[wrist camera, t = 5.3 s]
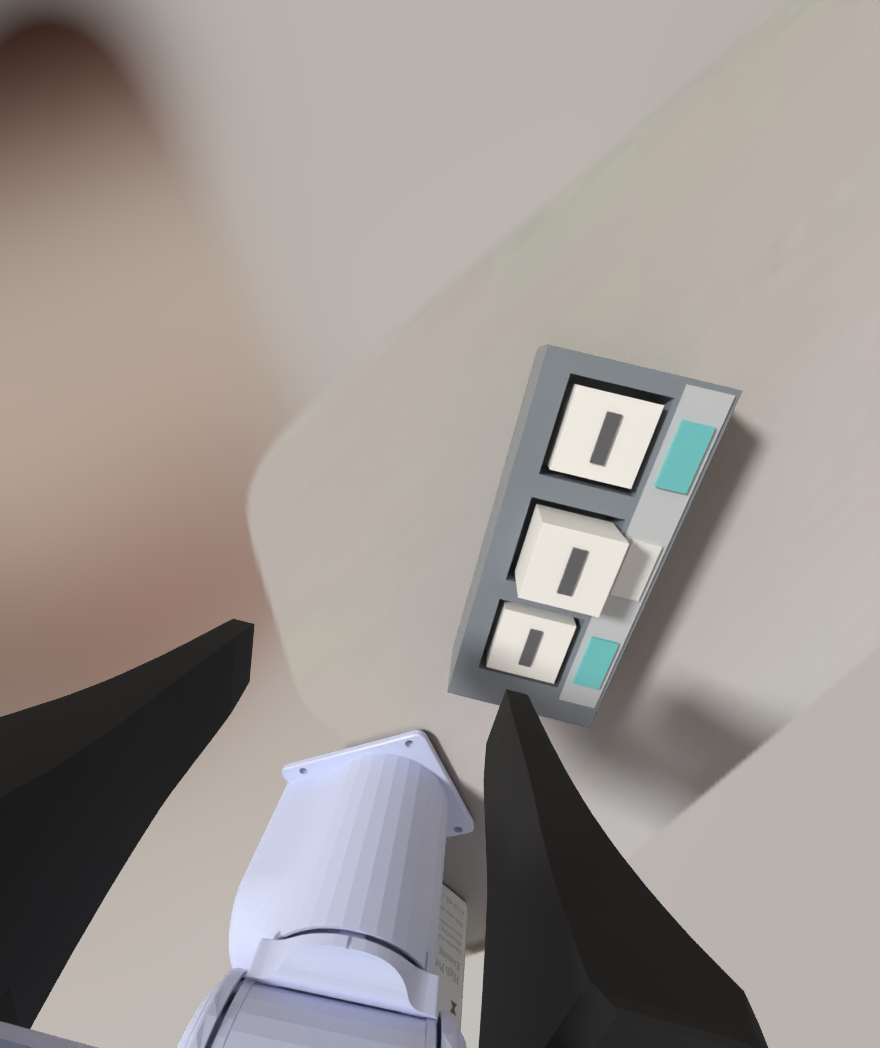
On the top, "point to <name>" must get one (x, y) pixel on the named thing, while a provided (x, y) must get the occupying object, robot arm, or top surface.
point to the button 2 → (601, 435)
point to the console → (637, 513)
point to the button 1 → (528, 641)
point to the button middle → (569, 560)
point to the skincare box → (451, 953)
